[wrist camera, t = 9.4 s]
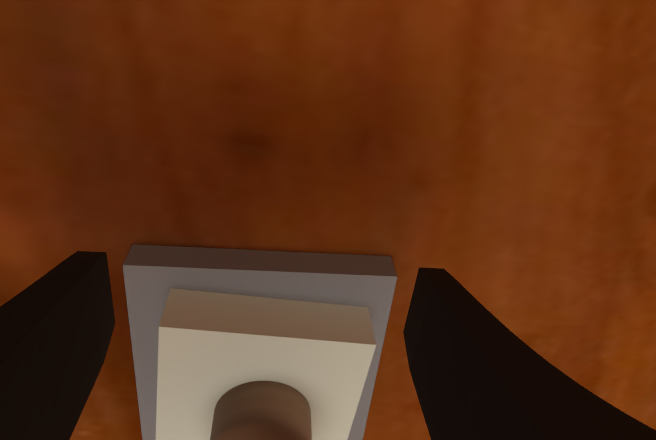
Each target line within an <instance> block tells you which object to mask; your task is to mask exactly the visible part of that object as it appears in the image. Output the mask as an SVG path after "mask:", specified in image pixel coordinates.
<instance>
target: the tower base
mask: <svg viewBox="0 0 656 440" xmlns="http://www.w3.org/2000/svg"><path fill="white" fill-rule="evenodd" d="M123 272H124V281H125V290H126V298H127V307H128V316H129V325H130V333H131V342H132V351H133V359H134V368H135V377H136V386H137V394H138V403H139V412H140V421H141V429H142V438H143V440H156V410H157V375H158V340H159V325H160V321H161V318H162V315H163V312H164V308H165V305H166V302H167V299H168V295H169V292H170V289H171V288H174V289H184V290H194V291H205V292H215V293H225V294H235V295H246V296H256V297H266V298H277V299H287V300H297V301H307V302H318V303H328V304H338V305H349V306H359V307H368V310H369V314H370V319H371V323H372V328H373V332H374V337H375V341H376V348H375V351H374V354H373V357H372V361H371V364H370V367H369V371H368V374H367V377H366V380H365V384H364V387H363V390H362V393H361V397H360V400H359V403H358V406H357V410H356V413H355V416H354V419H353V423H352V426H351V429H350V433H349V436H348V439H347V440H363V435H364V430H365V426H366V421H367V416H368V412H369V407H370V402H371V398H372V393H373V388H374V384H375V379H376V374H377V370H378V365H379V360H380V355H381V351H382V346H383V341H384V337H385V332H386V327H387V323H388V318H389V313H390V309H391V304H392V299H393V295H394V290H395V285H396V280H397V274H396V271H395V268H394V265H393V262H392V258H391V256H374V255H352V254H331V253H309V252H288V251H266V250H245V249H223V248H202V247H180V246H158V245H137V244H132V246H131V248H130V251H129V253H128V255H127V257H126V259H125V261H124V263H123Z"/></svg>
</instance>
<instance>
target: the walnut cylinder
mask: <svg viewBox="0 0 656 440" xmlns="http://www.w3.org/2000/svg"><path fill="white" fill-rule="evenodd" d="M210 440H312V429H311V410H310V406H309V403H308V401H307V400H306V398H305V397H304V396H303V395H302V394H301V393H300V392H299V391H298V390H296V389H295V388H293V387H291V386H289V385H286V384H283V383H279V382H274V381H253V382H247V383H244V384H241V385H238V386H236V387H234V388H232V389H230V390H229V391H227V392H226V393H225V394H223V395H222V397H221V398H220V399H219V400H218V402H217V404H216V406H215V409H214V415H213V422H212V429H211V436H210Z"/></svg>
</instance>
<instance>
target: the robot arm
mask: <svg viewBox="0 0 656 440" xmlns="http://www.w3.org/2000/svg"><path fill="white" fill-rule="evenodd" d="M114 325H115V317H114V309H113V302H112V294H111V286H110V278H109V270H108V263H107V255H106V252H85V251H77V252H76V253H74V254H73V255H71V256H70V257H68V258H67V259H66V260H64V261H63V262H61V263H60V264H59V265H57V266H56V267H55V268H53V269H52V270H51V271H49V272H48V273H47V274H45V275H44V276H43V277H41V278H40V279H39V280H37V281H36V282H34V283H33V284H32V285H30V286H29V287H27V288H26V289H25V290H23V291H22V292H21V293H19V294H18V295H16V296H15V297H14V298H12V299H11V300H9V301H8V302H7V303H5V304H4V305H2V306H1V307H0V440H69V439H70V437H71V435H72V432H73V430H74V428H75V426H76V424H77V421H78V419H79V417H80V415H81V412H82V410H83V408H84V406H85V404H86V401H87V399H88V397H89V395H90V392H91V390H92V388H93V386H94V383H95V381H96V379H97V377H98V374H99V372H100V370H101V367H102V365H103V363H104V359H105V356H106V353H107V350H108V346H109V343H110V339H111V336H112V332H113V329H114ZM403 333H404V339H405V345H406V352H407V357H408V363H409V368H410V372H411V376H412V379H413V382H414V386H415V389H416V392H417V395H418V399H419V402H420V405H421V408H422V412H423V415H424V418H425V421H426V424H427V427H428V431H429V434H430V437H431V440H656V430H654V429H652V428H650V427H648V426H647V425H645V424H643V423H641V422H640V421H638V420H636V419H634V418H632V417H631V416H629V415H627V414H625V413H624V412H622V411H621V410H619V409H617V408H616V407H614V406H612V405H611V404H609V403H608V402H606V401H604V400H603V399H601V398H599V397H598V396H596V395H595V394H593V393H592V392H590V391H589V390H587V389H586V388H584V387H583V386H581V385H579V384H578V383H577V382H575V381H574V380H572V379H571V378H570V377H568V376H567V375H565V374H564V373H563V372H561V371H560V370H558V369H557V368H556V367H554V366H553V365H551V364H550V363H549V362H548V361H546V360H545V359H544V358H542V357H541V356H540V355H539V354H537V353H536V352H535V351H534V350H532V349H531V348H530V347H529V346H528V345H526V344H525V343H524V342H523V341H522V340H520V339H519V338H518V337H517V336H516V335H514V334H513V333H512V332H511V331H510V330H509V329H508V328H506V327H505V326H504V325H503V324H502V323H501V322H500V321H499V320H498V319H496V318H495V317H494V316H493V315H492V314H491V313H490V312H489V311H488V310H487V309H486V308H485V307H484V306H483V305H482V304H480V303H479V302H478V301H477V300H476V299H475V298H474V297H473V296H472V295H471V294H470V293H469V292H468V291H467V290H466V289H465V288H464V287H463V286H462V285H461V284H460V283H459V282H458V281H457V280H456V279H455V278H453V277H452V276H451V275H450V274H449V273H448V272H447V271H446V270H445V269H438V268H419V270H418V274H417V278H416V283H415V287H414V291H413V295H412V299H411V303H410V307H409V311H408V315H407V319H406V323H405V328H404V332H403Z"/></svg>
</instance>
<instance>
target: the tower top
mask: <svg viewBox="0 0 656 440" xmlns="http://www.w3.org/2000/svg"><path fill="white" fill-rule="evenodd" d="M375 348H376V341H375V337H374V332H373V328H372V323H371V319H370V314H369V310H368V307H359V306H349V305H338V304H328V303H318V302H307V301H297V300H287V299H277V298H266V297H256V296H246V295H235V294H225V293H215V292H205V291H194V290H184V289H174V288H171V289H170V292H169V295H168V299H167V302H166V305H165V308H164V312H163V315H162V318H161V321H160V325H159V340H158V375H157V410H156V440H210V436H211V429H212V422H213V415H214V409H215V406H216V404H217V402H218V400H219V399H220V398H221V397H222V395H223V394H225V393H226V392H227V391H229V390H230V389H232V388H234V387H236V386H238V385H241V384H244V383H247V382H253V381H274V382H279V383H283V384H286V385H289V386H291V387H293V388H295V389H296V390H298V391H299V392H300V393H301V394H302V395H303V396H304V397H305V398H306V400H307V401H308V403H309V406H310V410H311V429H312V440H347V439H348V436H349V433H350V429H351V426H352V423H353V419H354V416H355V413H356V410H357V406H358V403H359V400H360V397H361V393H362V390H363V387H364V384H365V380H366V377H367V374H368V371H369V367H370V364H371V361H372V357H373V354H374V351H375Z"/></svg>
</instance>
